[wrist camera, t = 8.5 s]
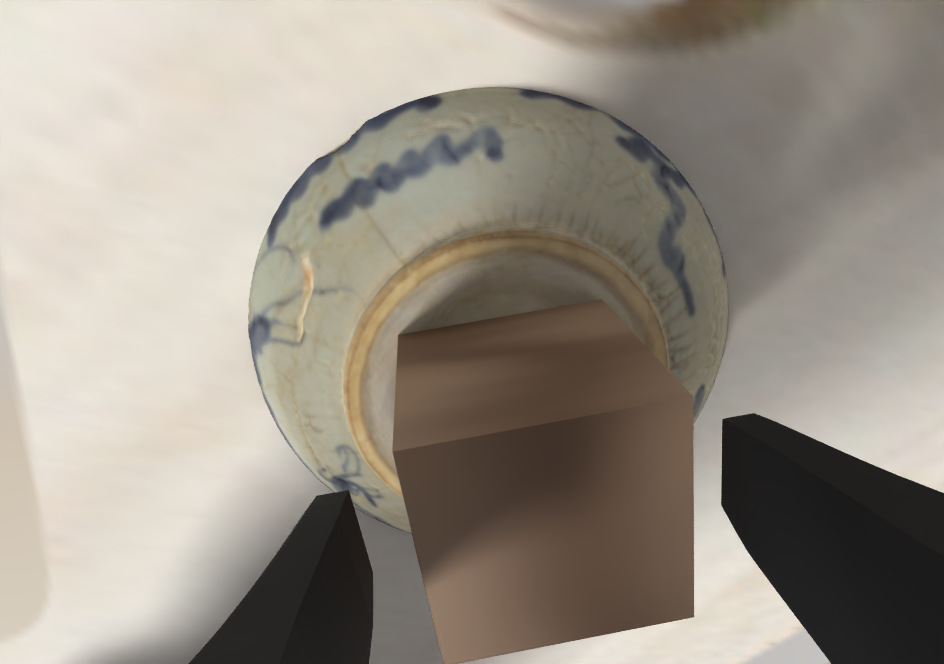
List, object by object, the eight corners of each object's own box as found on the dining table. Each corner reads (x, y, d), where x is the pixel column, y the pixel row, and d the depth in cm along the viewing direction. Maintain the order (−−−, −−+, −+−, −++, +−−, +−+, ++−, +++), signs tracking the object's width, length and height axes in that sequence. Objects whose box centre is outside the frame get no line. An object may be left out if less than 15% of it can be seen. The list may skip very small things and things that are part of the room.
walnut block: (433, 501, 16) (443, 665, 11) (398, 334, 14) (392, 451, 9) (612, 468, 16) (693, 617, 12) (601, 299, 14) (692, 396, 10)
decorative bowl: (341, -31, 14) (182, 462, 19) (322, -71, 11) (133, 543, 15) (813, 210, 18) (586, 574, 22) (910, 237, 14) (620, 661, 19)
